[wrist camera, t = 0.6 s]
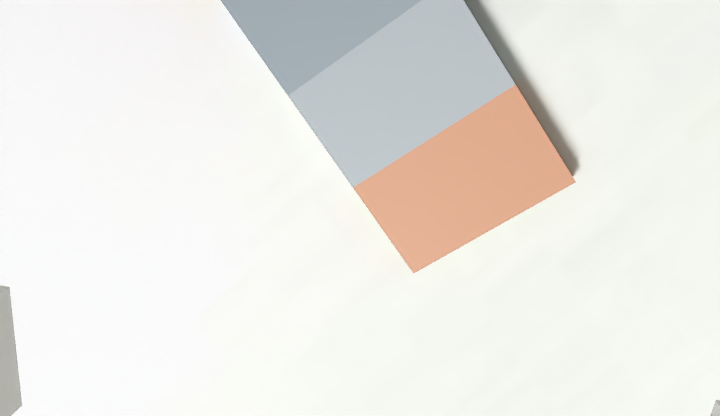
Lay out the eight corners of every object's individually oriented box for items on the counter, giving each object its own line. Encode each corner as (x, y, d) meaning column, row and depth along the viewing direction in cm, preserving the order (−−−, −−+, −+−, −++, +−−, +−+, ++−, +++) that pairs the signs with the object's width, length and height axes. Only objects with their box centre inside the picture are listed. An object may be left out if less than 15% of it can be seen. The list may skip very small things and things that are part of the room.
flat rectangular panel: (223, -4, 33) (218, -4, 32) (382, -132, 30) (380, -135, 29) (414, 267, 36) (413, 273, 35) (573, 177, 33) (575, 182, 32)
